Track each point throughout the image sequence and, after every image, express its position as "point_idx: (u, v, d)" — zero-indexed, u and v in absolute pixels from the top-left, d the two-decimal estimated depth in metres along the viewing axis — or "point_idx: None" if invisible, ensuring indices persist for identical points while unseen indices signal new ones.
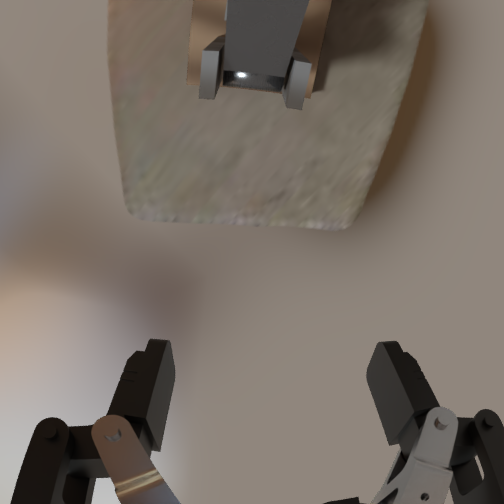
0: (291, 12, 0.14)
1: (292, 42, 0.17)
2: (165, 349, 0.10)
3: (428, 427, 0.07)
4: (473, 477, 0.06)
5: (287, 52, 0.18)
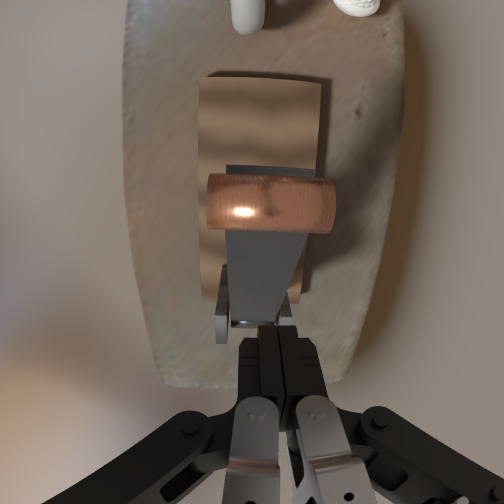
0: (273, 301, 0.27)
1: (276, 310, 0.30)
2: (277, 333, 0.11)
3: (305, 424, 0.07)
4: (391, 467, 0.07)
5: (274, 314, 0.31)
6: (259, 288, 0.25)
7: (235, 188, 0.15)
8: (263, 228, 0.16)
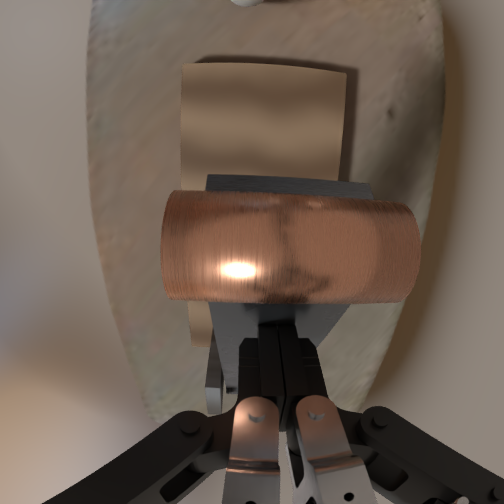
0: None
1: None
2: (277, 333, 0.11)
3: (305, 424, 0.07)
4: (391, 467, 0.07)
5: None
6: None
7: (222, 220, 0.07)
8: (280, 301, 0.08)
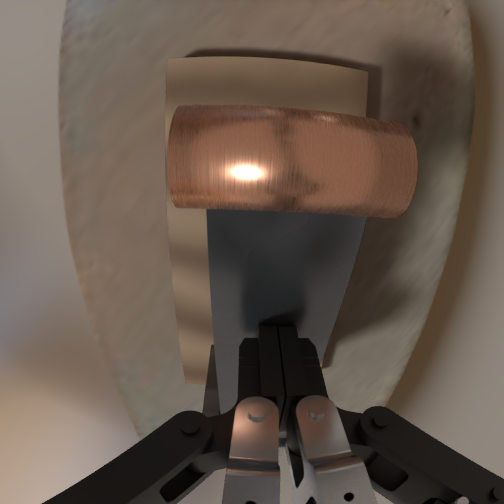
0: None
1: None
2: (277, 333, 0.11)
3: (305, 424, 0.07)
4: (391, 467, 0.07)
5: None
6: None
7: (229, 108, 0.07)
8: (286, 186, 0.07)
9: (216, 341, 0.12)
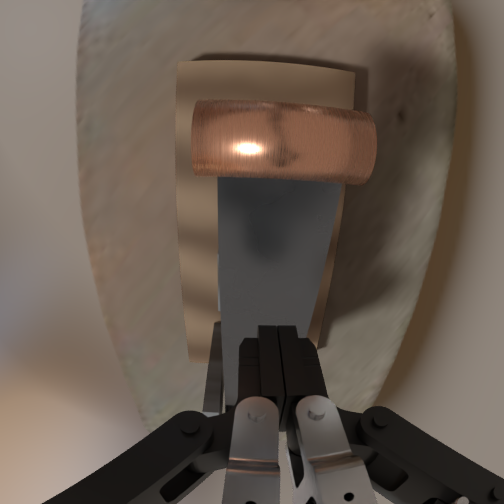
0: None
1: None
2: (277, 333, 0.11)
3: (305, 424, 0.07)
4: (391, 467, 0.07)
5: None
6: None
7: (235, 102, 0.10)
8: (276, 156, 0.10)
9: (222, 295, 0.15)
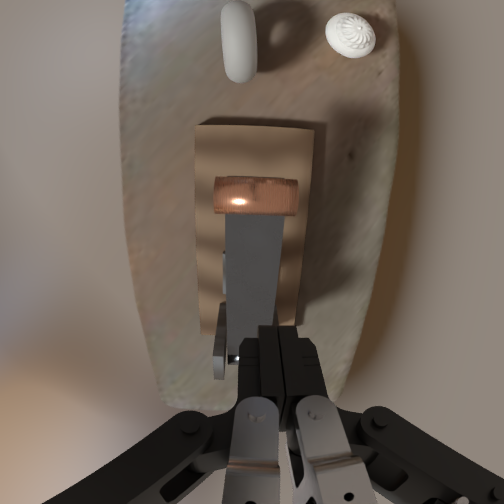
0: (264, 317, 0.31)
1: None
2: (277, 333, 0.11)
3: (305, 424, 0.07)
4: (391, 467, 0.07)
5: None
6: (252, 297, 0.30)
7: (233, 179, 0.23)
8: (251, 206, 0.23)
9: (226, 273, 0.28)
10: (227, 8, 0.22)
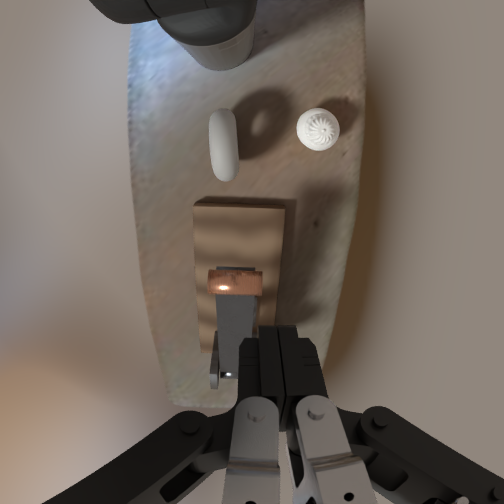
0: None
1: None
2: (277, 333, 0.11)
3: (305, 424, 0.07)
4: (391, 467, 0.07)
5: None
6: (235, 338, 0.43)
7: (219, 274, 0.36)
8: (231, 292, 0.36)
9: (217, 325, 0.41)
10: (213, 125, 0.34)
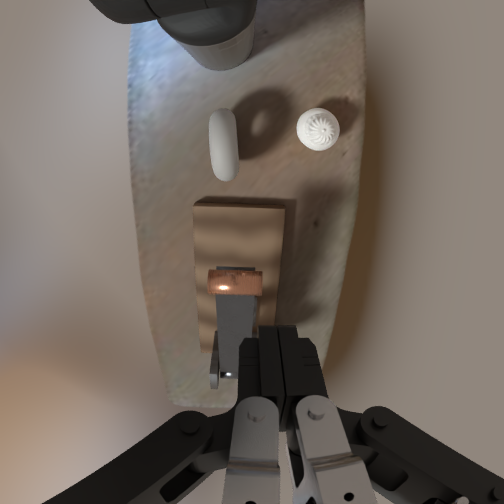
0: None
1: None
2: (277, 333, 0.11)
3: (305, 424, 0.07)
4: (391, 467, 0.07)
5: None
6: (235, 338, 0.43)
7: (219, 274, 0.36)
8: (231, 292, 0.36)
9: (217, 325, 0.41)
10: (213, 125, 0.34)
